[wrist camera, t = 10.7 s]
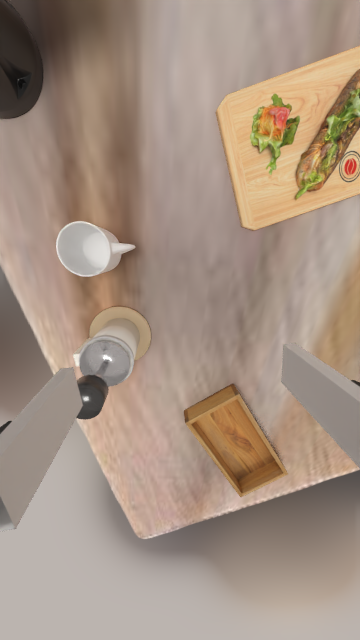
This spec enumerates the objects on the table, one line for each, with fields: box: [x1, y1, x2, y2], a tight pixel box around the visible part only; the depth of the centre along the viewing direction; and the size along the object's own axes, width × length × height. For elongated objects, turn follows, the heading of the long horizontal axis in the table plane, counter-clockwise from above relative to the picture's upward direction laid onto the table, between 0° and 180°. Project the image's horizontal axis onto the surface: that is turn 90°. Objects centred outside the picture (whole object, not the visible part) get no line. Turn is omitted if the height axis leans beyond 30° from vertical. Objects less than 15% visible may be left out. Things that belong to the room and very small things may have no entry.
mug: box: [56, 221, 135, 277], centre depth 41 cm, size 9×12×11 cm
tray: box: [184, 384, 288, 497], centre depth 60 cm, size 31×15×6 cm, turn 31°
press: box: [73, 306, 151, 383], centre depth 45 cm, size 14×14×13 cm
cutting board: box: [216, 46, 360, 231], centre depth 40 cm, size 35×23×8 cm
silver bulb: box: [76, 341, 130, 419], centre depth 33 cm, size 8×8×11 cm
